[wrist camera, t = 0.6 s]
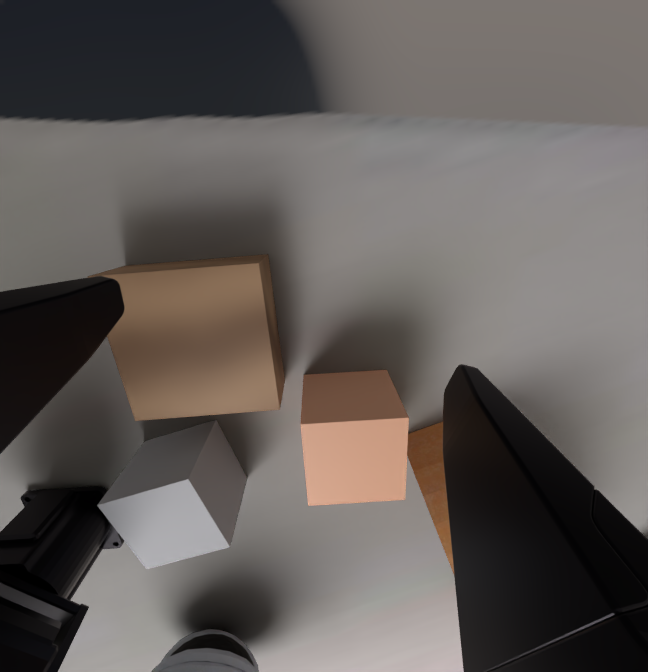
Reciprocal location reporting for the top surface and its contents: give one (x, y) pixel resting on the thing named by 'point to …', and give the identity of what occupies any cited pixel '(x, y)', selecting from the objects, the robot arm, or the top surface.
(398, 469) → the terracotta cube
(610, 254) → the top surface
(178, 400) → the walnut slab
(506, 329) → the top surface
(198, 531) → the slate cube
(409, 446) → the arch
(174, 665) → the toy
